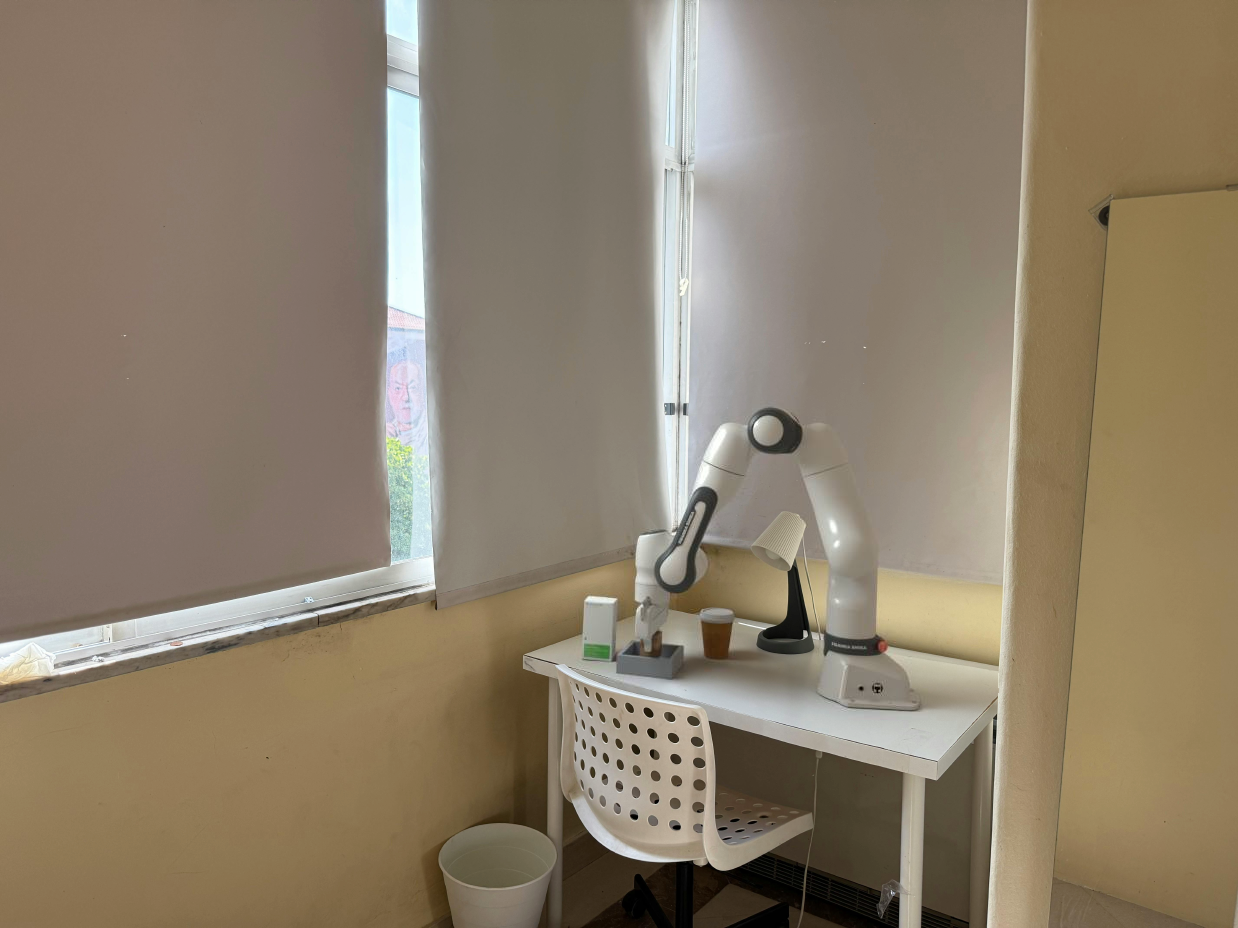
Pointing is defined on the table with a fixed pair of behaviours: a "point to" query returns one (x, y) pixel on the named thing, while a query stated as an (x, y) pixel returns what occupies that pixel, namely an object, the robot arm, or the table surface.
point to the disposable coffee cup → (716, 631)
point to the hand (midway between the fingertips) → (651, 647)
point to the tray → (650, 661)
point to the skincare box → (599, 628)
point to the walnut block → (657, 646)
